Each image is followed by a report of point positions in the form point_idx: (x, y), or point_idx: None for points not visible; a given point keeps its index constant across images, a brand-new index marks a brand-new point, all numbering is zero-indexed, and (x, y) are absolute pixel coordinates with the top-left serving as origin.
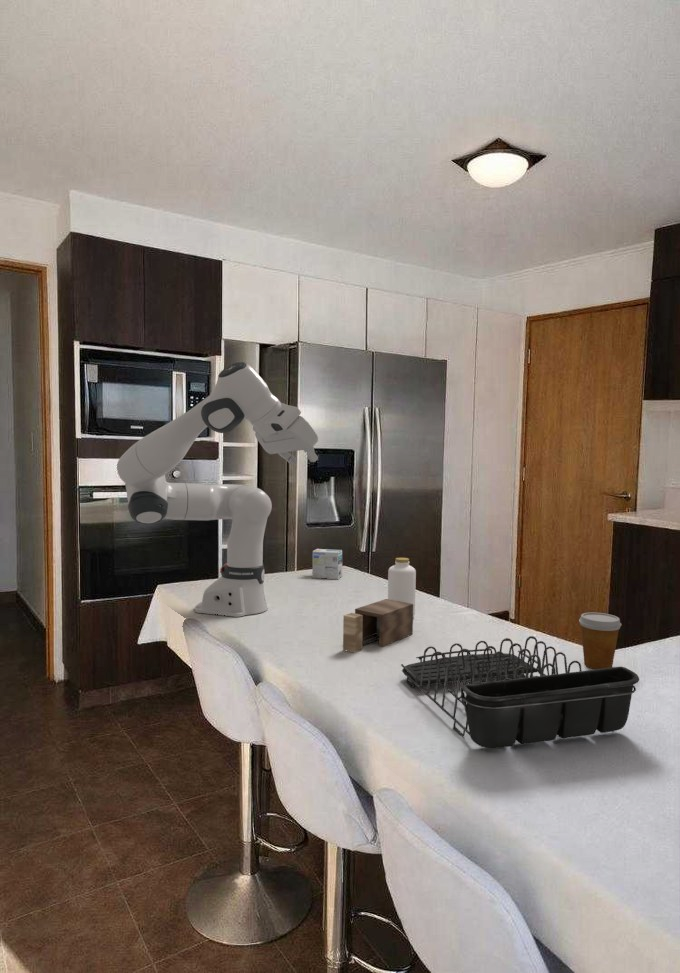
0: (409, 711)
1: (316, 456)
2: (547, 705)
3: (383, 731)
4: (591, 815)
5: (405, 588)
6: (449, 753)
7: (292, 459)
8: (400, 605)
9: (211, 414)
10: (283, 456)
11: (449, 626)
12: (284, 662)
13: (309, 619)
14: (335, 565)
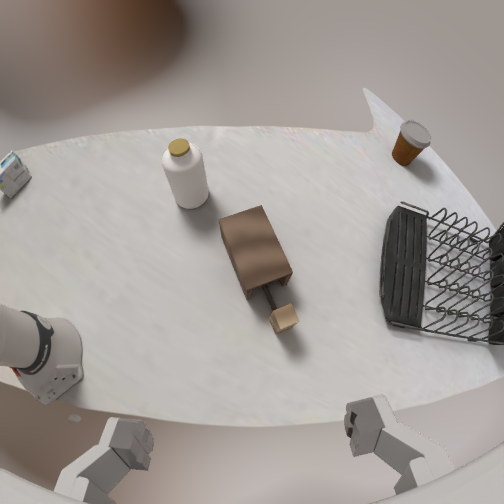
0: (439, 356)
1: (388, 406)
2: None
3: (455, 390)
4: None
5: (202, 176)
6: (486, 361)
7: (142, 450)
8: (260, 223)
9: None
10: (109, 488)
11: (254, 173)
12: (283, 417)
13: (134, 301)
14: (21, 170)
